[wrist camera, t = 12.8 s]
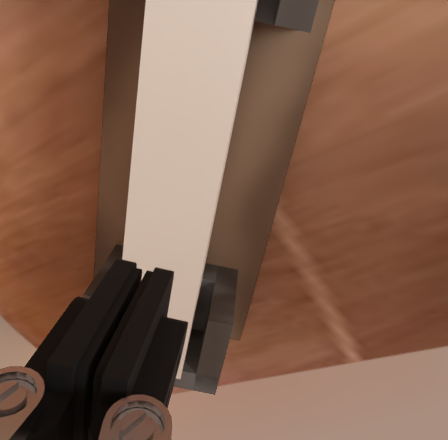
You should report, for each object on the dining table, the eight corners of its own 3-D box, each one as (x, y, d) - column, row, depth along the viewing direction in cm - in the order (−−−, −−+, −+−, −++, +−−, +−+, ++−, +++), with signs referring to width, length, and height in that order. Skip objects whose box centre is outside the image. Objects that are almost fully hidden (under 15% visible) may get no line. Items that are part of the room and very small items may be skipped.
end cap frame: (359, -103, 21) (407, -163, 14) (240, 327, 33) (235, 404, 27) (128, -154, 20) (63, -240, 14) (98, 298, 33) (57, 367, 27)
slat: (185, -68, 19) (154, -105, 13) (268, -50, 19) (271, -79, 14) (140, 301, 29) (112, 365, 23) (195, 312, 29) (180, 379, 23)
